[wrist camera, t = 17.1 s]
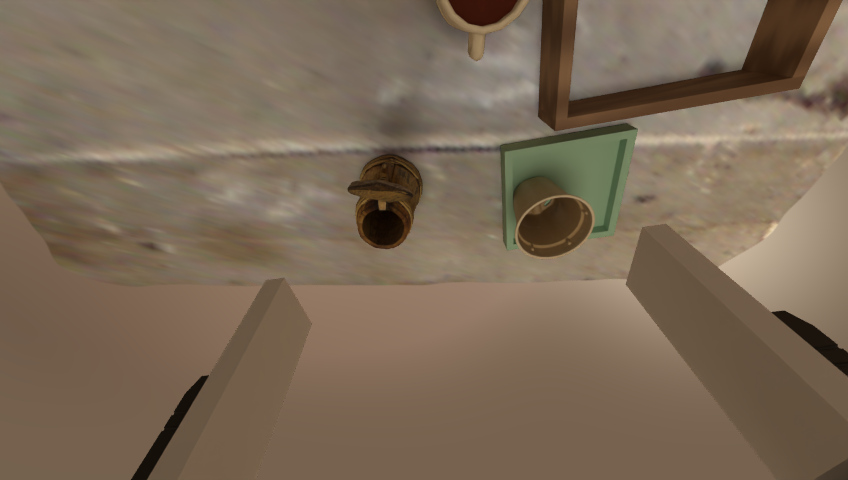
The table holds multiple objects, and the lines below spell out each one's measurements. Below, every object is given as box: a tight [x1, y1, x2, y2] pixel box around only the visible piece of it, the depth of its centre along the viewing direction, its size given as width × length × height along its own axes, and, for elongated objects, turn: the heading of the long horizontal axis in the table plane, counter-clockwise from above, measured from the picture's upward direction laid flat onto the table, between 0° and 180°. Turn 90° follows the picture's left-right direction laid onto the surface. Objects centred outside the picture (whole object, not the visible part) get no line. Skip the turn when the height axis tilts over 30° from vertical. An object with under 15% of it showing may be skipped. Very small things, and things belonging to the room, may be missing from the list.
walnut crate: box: [538, 0, 842, 131], centre depth 30 cm, size 18×24×6 cm
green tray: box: [501, 123, 638, 250], centre depth 44 cm, size 16×16×2 cm
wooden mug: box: [348, 155, 422, 249], centre depth 36 cm, size 9×14×18 cm, turn 174°
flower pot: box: [513, 177, 595, 259], centre depth 41 cm, size 9×9×9 cm
